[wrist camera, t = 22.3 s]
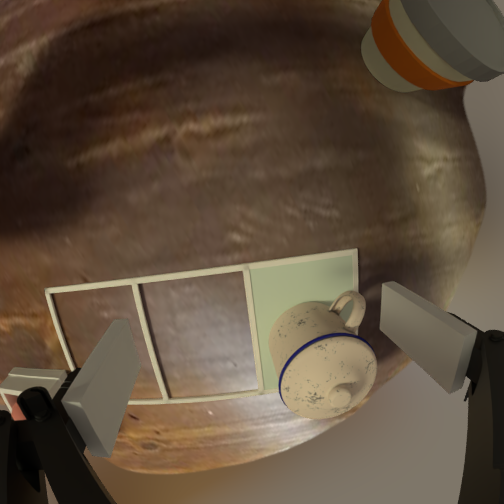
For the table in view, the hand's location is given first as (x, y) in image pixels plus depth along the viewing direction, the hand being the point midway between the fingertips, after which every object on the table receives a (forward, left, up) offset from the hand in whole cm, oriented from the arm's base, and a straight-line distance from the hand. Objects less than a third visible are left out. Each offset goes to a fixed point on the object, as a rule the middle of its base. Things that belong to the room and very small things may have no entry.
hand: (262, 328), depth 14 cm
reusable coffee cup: (+20, +21, -17) cm, 34 cm away
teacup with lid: (+7, -9, -16) cm, 19 cm away
